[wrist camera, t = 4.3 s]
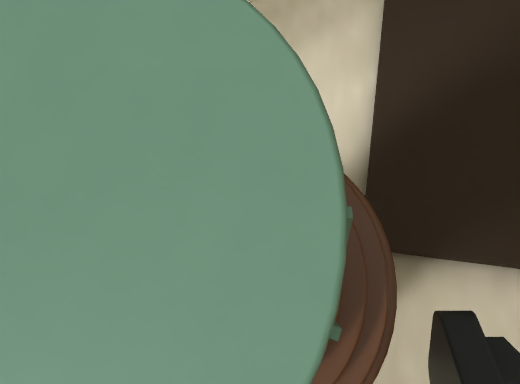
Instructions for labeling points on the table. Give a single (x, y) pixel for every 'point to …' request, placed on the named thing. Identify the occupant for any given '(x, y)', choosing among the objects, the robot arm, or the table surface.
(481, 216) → the coaster
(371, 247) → the bottle
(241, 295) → the cap
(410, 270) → the table surface
